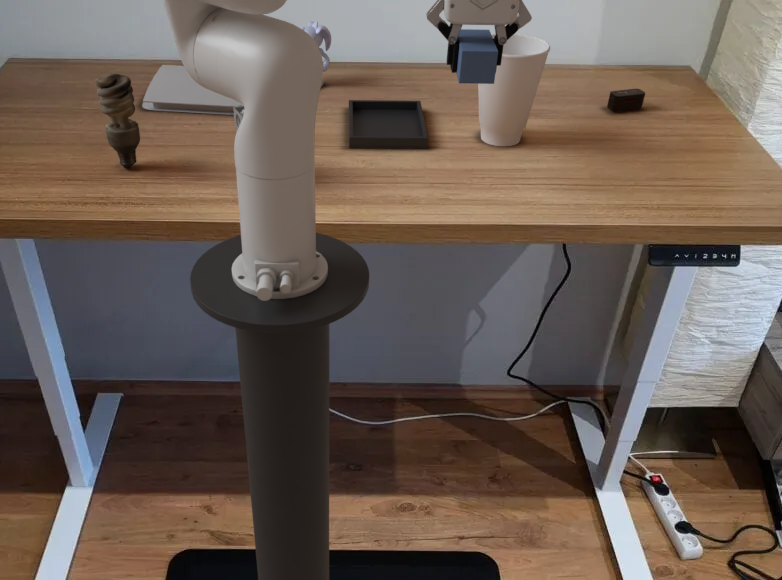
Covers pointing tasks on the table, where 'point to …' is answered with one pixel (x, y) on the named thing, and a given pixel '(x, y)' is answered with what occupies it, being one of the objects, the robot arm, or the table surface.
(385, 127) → the black tray
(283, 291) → the robot arm
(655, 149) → the table surface
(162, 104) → the book
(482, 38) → the rectangular block
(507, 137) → the cup
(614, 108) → the wireless earbuds
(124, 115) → the light bulb
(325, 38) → the toy figurine
